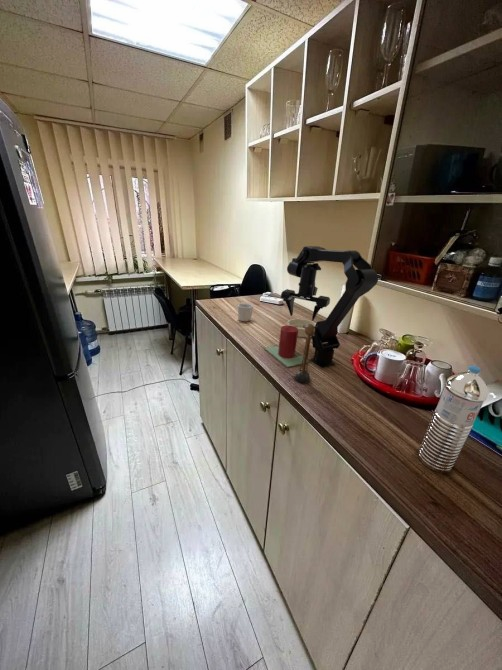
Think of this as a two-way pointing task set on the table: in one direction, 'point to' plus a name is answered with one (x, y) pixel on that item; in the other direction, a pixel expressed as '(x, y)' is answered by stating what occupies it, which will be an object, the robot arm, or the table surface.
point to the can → (287, 341)
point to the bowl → (300, 325)
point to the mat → (286, 361)
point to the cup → (245, 311)
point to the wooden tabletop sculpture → (303, 374)
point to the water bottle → (452, 420)
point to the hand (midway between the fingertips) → (301, 318)
